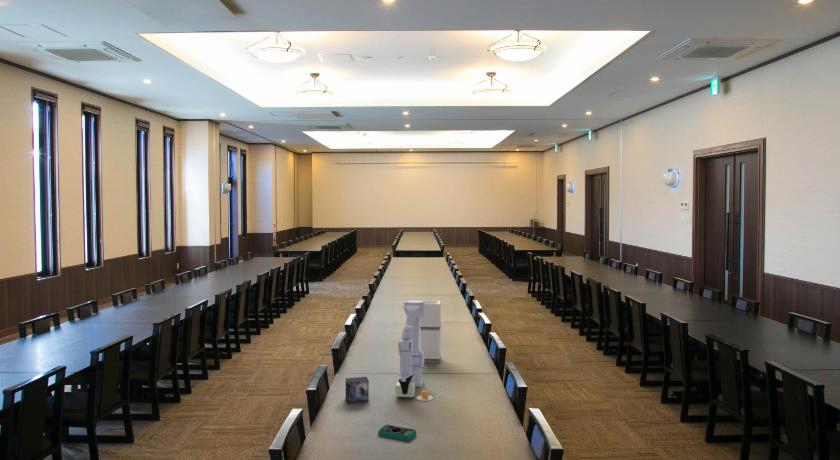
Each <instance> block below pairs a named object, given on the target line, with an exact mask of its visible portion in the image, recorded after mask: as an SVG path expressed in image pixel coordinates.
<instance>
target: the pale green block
mask: <svg viewBox="0 0 840 460" xmlns="http://www.w3.org/2000/svg"><path fill="white" fill-rule="evenodd" d="M415 394H416V387H415V382H410V383H409V386H408V392H407V394H403V393H402V389H401V385H400V383H399V381H397V382H396V384H395V397H396V398H397V397H399V398H401V397H402V398H414V396H415Z"/></svg>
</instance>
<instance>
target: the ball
mask: <svg viewBox="0 0 840 460" xmlns="http://www.w3.org/2000/svg"><path fill="white" fill-rule="evenodd" d="M420 395H421V397H422V398H424V399H426V398H428V397H429V396H430V393H429V391H428V390H426V389H424V390H422V391H421V393H420Z"/></svg>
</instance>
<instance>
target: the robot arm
mask: <svg viewBox="0 0 840 460" xmlns="http://www.w3.org/2000/svg"><path fill="white" fill-rule="evenodd" d="M423 301H424V300H421V301H419V300H405V301H404V302H403V311H404V313H405V315H406V320H405V326H404V327H403V329H402V333H401V338H400V340H399V341H398V346H397V347H398V348H397V349H398V355H399V372H397V375H399V376H400V378H399V379H398V382H399V383H400V385H401V389H402V393H403V394H407V392H408V386H409V383H410V382H415V388H416V387H417V388H418V387H420V388H421V387H422V385H423V382H424V380H423V379H422V368H423V367H424V366H425V362H424V353H423V351H421V350H420V318H421V317H422V316H424V302H423Z"/></svg>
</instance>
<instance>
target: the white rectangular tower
mask: <svg viewBox="0 0 840 460" xmlns="http://www.w3.org/2000/svg"><path fill="white" fill-rule="evenodd" d="M422 301H423V302H424V316H422V317H421V318H420V331H419V349H420V350H421V351H423V353H424V363H436V364H437V363H440V362H441V358H442V357H441V356H442V355H441V347H442V346H441V343H442V342H441V337H442V336H441V333H442V332H441V327H442V326H441V325H442V322H441V321H442V320H441V319H442V318H441V317H442V313H441V310H442V309H441V307H442V304H441V300H422Z"/></svg>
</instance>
